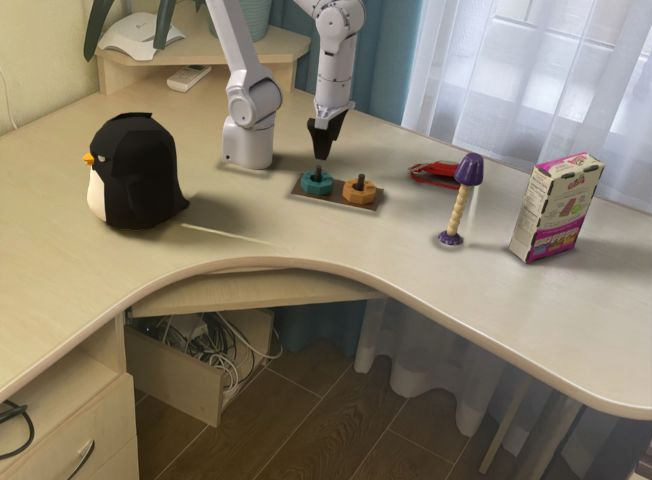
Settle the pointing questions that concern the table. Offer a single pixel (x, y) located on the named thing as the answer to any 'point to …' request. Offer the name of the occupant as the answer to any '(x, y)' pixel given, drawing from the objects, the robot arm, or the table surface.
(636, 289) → the table surface
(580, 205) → the candy bar box
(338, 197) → the peg rack
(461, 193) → the toy lamp
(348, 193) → the ochre ring
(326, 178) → the teal ring
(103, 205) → the penguin
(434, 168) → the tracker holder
